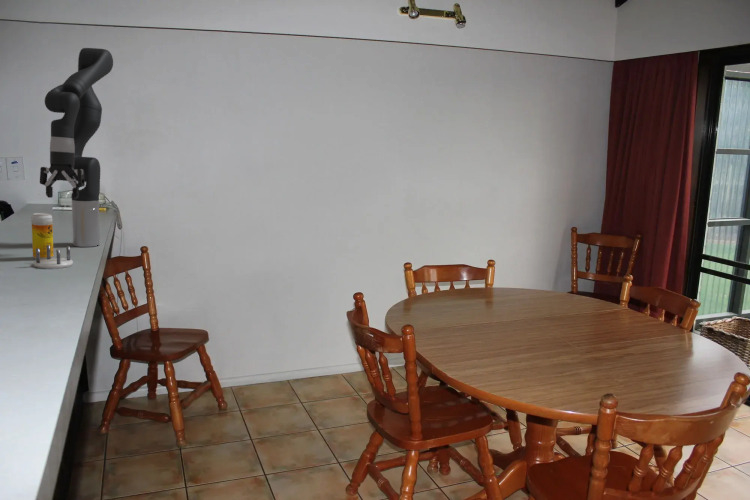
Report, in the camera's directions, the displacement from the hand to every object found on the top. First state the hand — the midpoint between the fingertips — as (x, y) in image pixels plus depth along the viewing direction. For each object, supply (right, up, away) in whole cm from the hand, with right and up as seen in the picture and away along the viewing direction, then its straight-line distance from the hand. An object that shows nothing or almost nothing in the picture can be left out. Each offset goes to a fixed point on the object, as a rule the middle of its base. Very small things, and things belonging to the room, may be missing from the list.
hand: (62, 198), depth 207 cm
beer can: (-3, -21, -7) cm, 22 cm away
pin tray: (+5, -23, -16) cm, 28 cm away
